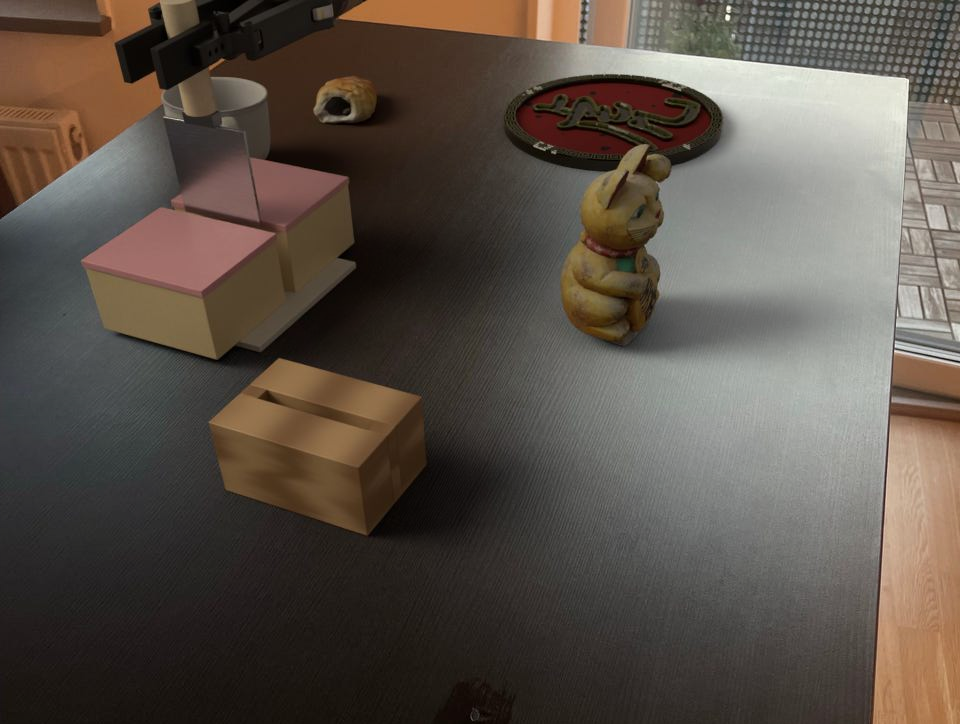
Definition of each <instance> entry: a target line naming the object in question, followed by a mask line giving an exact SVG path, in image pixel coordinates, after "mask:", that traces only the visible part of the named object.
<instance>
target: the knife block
mask: <svg viewBox="0 0 960 724" xmlns="http://www.w3.org/2000/svg"><path fill="white" fill-rule="evenodd" d="M424 420H425V419H424V406H423V397H422V396H420V395H417V394H413V393H411V392H410V393H409V392H406V391H402V390H399V389H395V388H391V387H387V386H384V385H381V384H376V383H373V382H369V381H365V380H362V379H358V378H354V377H350V376H348V375H343V374H340V373H336V372H332V371H328V370H325V369H321V368H317V367H314V366H310V365H306V364H303V363H300V362H296V361H292V360H289V359H285V358H281V357H278V358H277V359H276V360H274V362H273V363H272V364H271V365H270V366H269V367H268V368H267V369H265V370H264V371H263V372H262V373H260V375H258V376H257V377H256V378H255V379H254V380H253V381H252V382H251V383H250V384H249V385H247V386H246V387H245V388H244V389H242V391H241V392H240V393H239V394H237V395H236V397H235V398H233V400H231V401H230V402H229V403H228V404H227V405H226V406H225V407H223V408H222V409H221V410H220V411H219V412H218V413H217V414H216V415H215V416H213V417H212V418H211V419H210V420H209V421H208V426H209V430H210V434H211V437H212V442H213V446H214V449H215V450H214V451H215V453H216V457H217V461H218V466H219V469H220V473H221V477H222V480H223V485H224V488H225V491H228V492H230V493H234V494H237V495H240V496H243V497H246V498H249V499H253V500H255V501H258V502H261V503H265V504H267V505H270V506H274V507H277V508H280V509H283V510H286V511H290V512H292V513H295V514H299V515H302V516H305V517H308V518H311V519H314V520H317V521H320V522H323V523H327V524H329V525H333V526H336V527H338V528H342V529H345V530H348V531H351V532H354V533H356V534H360V535H364V536H367V537H368V536H369V535H370V534H371V533H372V531H374V529H375V528H376V527H377V526H378V525H379V523H380V522H381V521H382V520H383V518H384V517H385V516H386V514H387V513H388V512H389V511H390V510H391V508H392V507H393V506H395V505H394V504H396V503H397V501H398V500H399V499H400V497H401V496H402V495H403V494H404V492H406V491H407V489H408V488H409V487H410V485H411V484H412V483H413V482H414V481H415V479H416V478H417V477H418V476H419V475H420V474H421V472H422V471H423V470H424V468H425V467H426V466H427V451H426V436H425V422H424Z"/></svg>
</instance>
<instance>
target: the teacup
mask: <svg viewBox="0 0 960 724" xmlns="http://www.w3.org/2000/svg"><path fill="white" fill-rule="evenodd" d="M211 81H212V86H213V91H214V96H215V101H216V106H217V111H220V113H221V118H222V124H221V125H219V126H222V127H228V128H233V129H238V130H243V131H245V133H246V138H247V144H248V149H249V155H250V157H252V158H257V159H261V160H266V159H267V158H268V155H269V154H270V150H271V149H270V148H271V125H270V113H269V105H268V104H269V103H268V97H269V93H268V89H267V88H266V87H265V86H264V85H262V84H261V83H258V82H255V81H254V80H249V79H245V78H241V77H240V78H239V77H231V76H211ZM160 94H161V95H160V100H161V103H162V104H163V109H164V114H165V115H164V116H170V117H175V118H180V119H183V115H182V110H184V108H183V103H182V99H181V94H180V90H179V85H176V86H174V87H172V88H171V89H169V90H164V89H163V91H162V93H160Z"/></svg>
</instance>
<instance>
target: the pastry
mask: <svg viewBox="0 0 960 724" xmlns="http://www.w3.org/2000/svg"><path fill="white" fill-rule="evenodd" d="M377 95H378V94H377V89H376V86H375V85H374V82H373V81H372V80H370V79H366V78H361V77H359V76H356V75H351V76H344V77H340V78H334V79H331V80H328V81H326V82H325V84H324V85H323V86H321V87H320V88H319V90H318V92H317V94H316V102H315V106H314V107H313V114H314V115H315V117H316V118H317V119H318V120H319V122H320V123H322V124H333V125H334V124H340V123H347V124H355V123H361V122H362V123H363V122H365V121H366V120H368V119H370V118H371V117H372V115H373V114H374V113H375V111H376V110H375V109H376V106H377V102H378V99H377V97H378V96H377Z"/></svg>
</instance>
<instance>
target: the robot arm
mask: <svg viewBox="0 0 960 724" xmlns="http://www.w3.org/2000/svg"><path fill="white" fill-rule="evenodd" d="M195 1H196V6H197V11H198V16H199V21H200V23H199V24H197V25H196V26H193V27H192V28H190V29H188V30H186V31H184V32H182V33H180V34H178V35H176V36H174V37H172V38H170V39H168V36H167V31H166V27H165V22H164V18H163V13H162V9H161V4H160V1H159V2H157V3H155V4H154V5H152V6H150V7H149V8H147V12H148V16H149V20H150V25H148V26H145V27H143V28H141V29H140V30H139V29H138V30H137V31H135V32H133V33H131V34H129V35H127V36H125V37H123V38H120V39H119V40H117V41H115V42H114V47H115V51H116V55H117V56H116V57H117V60H118V63H119V67H120V71H121V76H122V79H123V82H124V83H125V84H126V83H127V84H131V85H132V84H134V83H136V82H138V81H140V80H142V79H144V78H145V77H148V76H150V75H151V74H153V73H155V76H156V80H157V84H158V88H159V90H163V91H164V90H169V89H171V88H172V87H174V86H176V85H178V84H179V83H181V82H183V81H185V80H186V79H188V78H190V77H192V76H193V75H195V74H197V73H199V72H201V71H202V70H204V69H206V68H208V67H209V68H210V67H211V66H213V65H214V64H216V63H219V61H220V60H225V61H233V60H236V59H237V58H238V57H240V56H241V55H242V54H244V57H245V60H246V61H250V62H256V61H257V60H260V59H262V58H264V57H267V56H269V55H271V54H272V53H275V52H277V51H279V50H281V49H283V48H285V47H287V46H289V45H291V44H293V43H295V42H298V41H299V40H302V39H303V38H306V37H308V36H310V35H312V34H314V33H318V32H321V31H325V30H330V29H332V28H334V27H335V25H336V24H335V23H336V22H338V21H339V20H340V17H342V16H343V15H344V14H347V13H348V12H350V11H351V10H352V9H354V8H356V7H358V6H360V5H361V4H363V3H365V2H367V1H368V0H195ZM259 42H260V43H259Z"/></svg>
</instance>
